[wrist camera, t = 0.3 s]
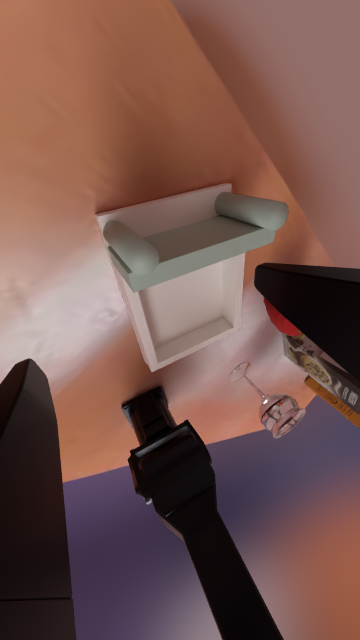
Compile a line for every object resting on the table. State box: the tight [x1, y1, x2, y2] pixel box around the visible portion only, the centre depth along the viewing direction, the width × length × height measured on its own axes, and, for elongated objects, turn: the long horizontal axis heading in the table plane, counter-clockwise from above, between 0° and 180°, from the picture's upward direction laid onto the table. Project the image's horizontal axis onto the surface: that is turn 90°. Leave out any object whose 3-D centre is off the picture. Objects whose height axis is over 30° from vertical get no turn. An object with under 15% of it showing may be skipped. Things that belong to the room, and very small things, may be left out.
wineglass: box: [230, 362, 305, 438], centre depth 40 cm, size 7×7×12 cm
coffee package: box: [305, 375, 360, 428], centre depth 58 cm, size 10×12×22 cm
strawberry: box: [264, 298, 305, 340], centre depth 32 cm, size 6×8×10 cm
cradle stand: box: [95, 183, 288, 372], centre depth 23 cm, size 18×13×8 cm
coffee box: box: [283, 333, 360, 415], centre depth 41 cm, size 9×6×16 cm
